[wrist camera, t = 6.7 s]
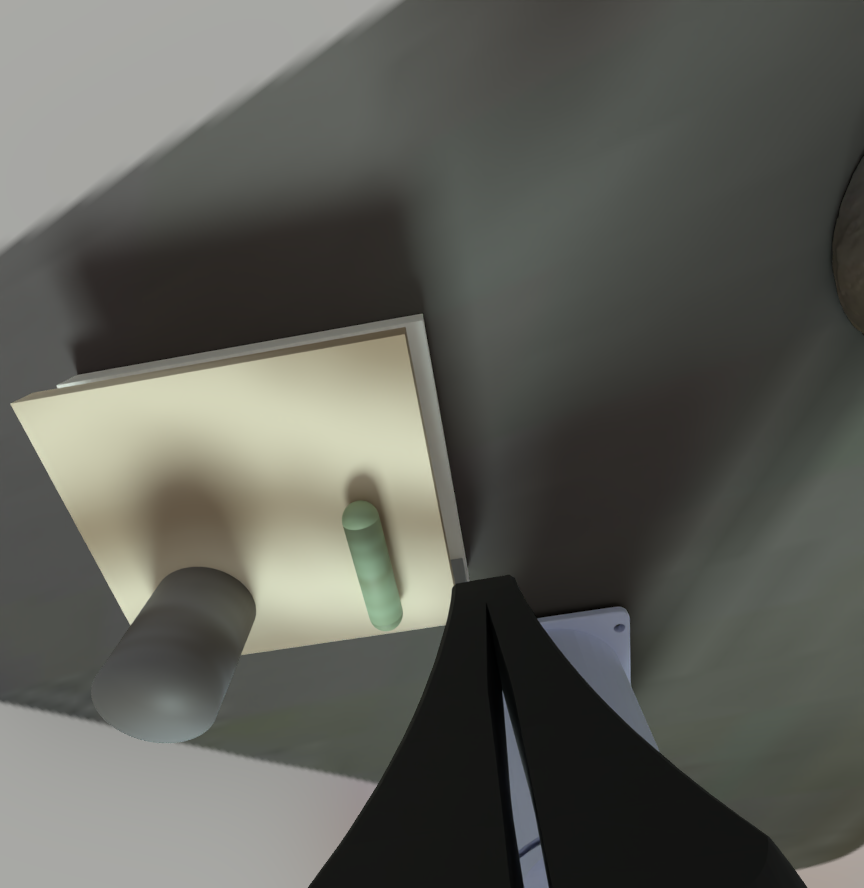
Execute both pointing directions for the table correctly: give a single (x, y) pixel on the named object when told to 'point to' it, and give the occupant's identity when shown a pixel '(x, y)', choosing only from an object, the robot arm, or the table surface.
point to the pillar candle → (851, 250)
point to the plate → (247, 514)
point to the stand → (412, 324)
